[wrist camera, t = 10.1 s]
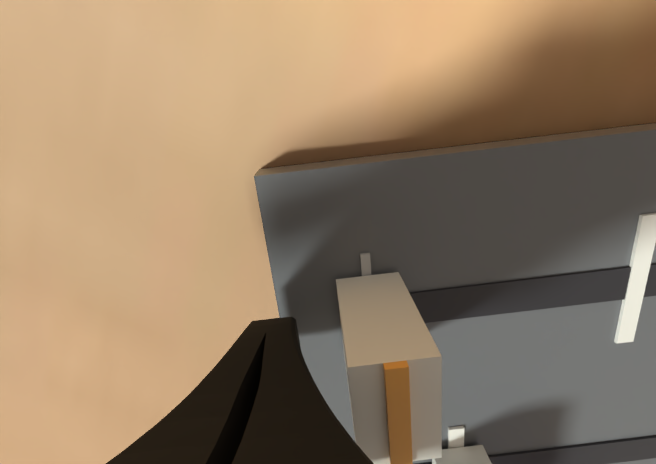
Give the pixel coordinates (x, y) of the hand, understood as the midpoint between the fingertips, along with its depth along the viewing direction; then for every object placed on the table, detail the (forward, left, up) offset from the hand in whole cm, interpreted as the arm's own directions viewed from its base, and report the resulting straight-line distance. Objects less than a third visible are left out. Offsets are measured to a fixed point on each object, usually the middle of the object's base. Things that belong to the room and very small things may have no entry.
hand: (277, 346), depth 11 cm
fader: (0, -3, -1) cm, 3 cm away
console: (-4, -9, -2) cm, 10 cm away
